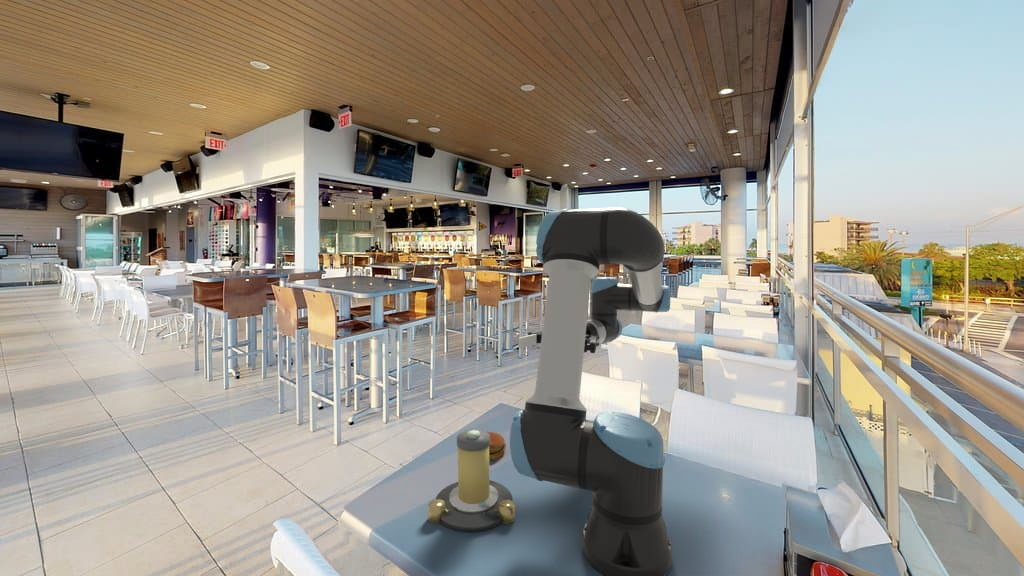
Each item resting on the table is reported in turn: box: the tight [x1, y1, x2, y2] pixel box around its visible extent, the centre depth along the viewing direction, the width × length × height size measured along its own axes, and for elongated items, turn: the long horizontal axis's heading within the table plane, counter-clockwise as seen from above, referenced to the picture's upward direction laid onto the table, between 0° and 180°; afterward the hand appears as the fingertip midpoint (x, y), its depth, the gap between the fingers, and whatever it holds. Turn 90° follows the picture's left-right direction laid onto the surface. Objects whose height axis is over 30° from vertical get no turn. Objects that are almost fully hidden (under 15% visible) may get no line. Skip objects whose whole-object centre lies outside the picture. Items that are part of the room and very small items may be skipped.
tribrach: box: [427, 479, 516, 533], centre depth 85 cm, size 17×18×3 cm
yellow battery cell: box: [456, 429, 490, 504], centre depth 85 cm, size 7×7×13 cm
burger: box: [485, 431, 507, 461], centre depth 110 cm, size 10×9×5 cm
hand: (541, 347), depth 100 cm, fingers open, 13 cm apart
